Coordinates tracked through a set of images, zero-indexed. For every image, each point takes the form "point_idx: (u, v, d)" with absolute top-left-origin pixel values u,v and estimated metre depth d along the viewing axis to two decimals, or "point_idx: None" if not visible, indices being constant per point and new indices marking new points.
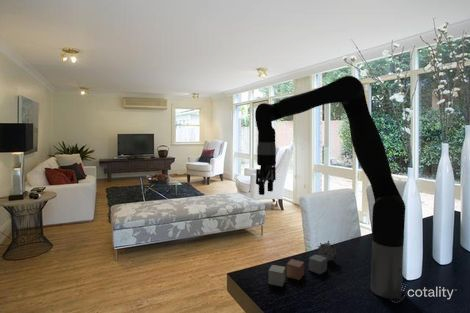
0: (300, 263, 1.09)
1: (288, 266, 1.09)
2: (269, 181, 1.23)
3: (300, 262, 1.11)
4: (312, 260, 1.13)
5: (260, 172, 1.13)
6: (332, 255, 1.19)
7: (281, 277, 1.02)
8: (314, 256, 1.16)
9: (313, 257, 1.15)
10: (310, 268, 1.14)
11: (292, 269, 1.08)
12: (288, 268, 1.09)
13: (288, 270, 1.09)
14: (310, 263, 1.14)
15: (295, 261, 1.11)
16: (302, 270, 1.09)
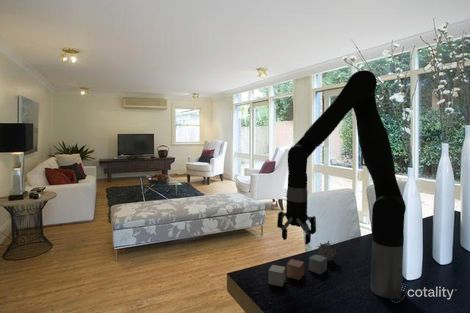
0: (300, 263, 1.09)
1: (288, 266, 1.09)
2: (285, 228, 1.11)
3: (300, 262, 1.11)
4: (312, 260, 1.13)
5: (315, 219, 1.06)
6: (332, 255, 1.19)
7: (281, 277, 1.02)
8: (314, 256, 1.16)
9: (313, 257, 1.15)
10: (310, 268, 1.14)
11: (292, 269, 1.08)
12: (288, 268, 1.09)
13: (288, 270, 1.09)
14: (310, 263, 1.14)
15: (295, 261, 1.11)
16: (302, 270, 1.09)
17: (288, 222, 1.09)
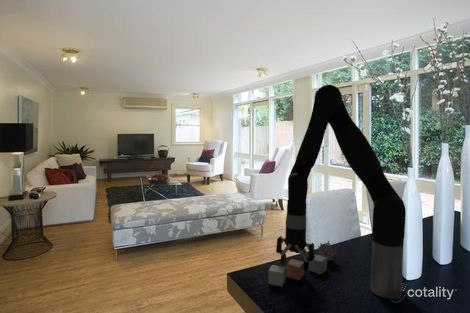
0: (300, 263, 1.09)
1: (288, 266, 1.09)
2: (284, 254, 1.12)
3: (300, 262, 1.11)
4: None
5: (313, 247, 1.07)
6: (332, 255, 1.19)
7: (281, 277, 1.02)
8: None
9: None
10: (310, 268, 1.14)
11: (292, 269, 1.08)
12: (288, 268, 1.09)
13: (288, 270, 1.09)
14: (310, 263, 1.14)
15: (295, 261, 1.11)
16: (302, 270, 1.09)
17: (287, 248, 1.10)
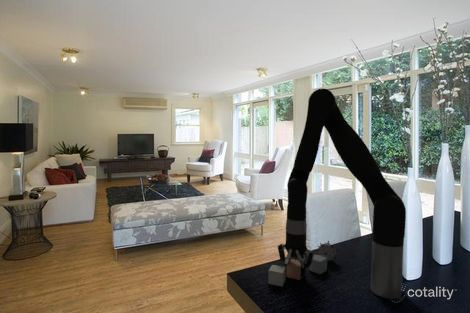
0: None
1: (288, 266, 1.09)
2: None
3: None
4: (312, 260, 1.13)
5: (313, 254, 1.07)
6: (332, 255, 1.19)
7: (281, 277, 1.02)
8: (314, 256, 1.16)
9: (313, 257, 1.15)
10: (310, 268, 1.14)
11: (292, 269, 1.08)
12: (288, 268, 1.09)
13: (288, 270, 1.09)
14: None
15: (295, 261, 1.11)
16: None
17: (289, 254, 1.09)
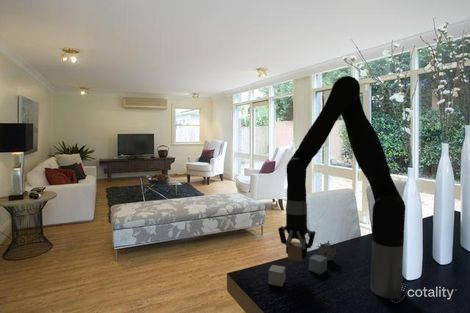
0: None
1: (289, 248, 1.08)
2: None
3: None
4: (312, 260, 1.13)
5: (314, 235, 1.06)
6: (332, 255, 1.19)
7: (281, 277, 1.02)
8: (314, 256, 1.16)
9: (313, 257, 1.15)
10: (310, 268, 1.14)
11: (293, 251, 1.07)
12: (289, 250, 1.08)
13: (289, 252, 1.08)
14: (310, 263, 1.14)
15: (296, 243, 1.10)
16: None
17: (290, 236, 1.08)
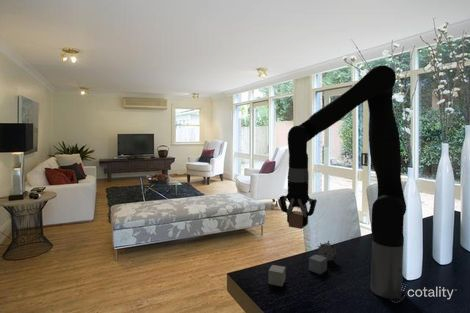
0: (302, 213, 1.09)
1: (290, 216, 1.08)
2: None
3: None
4: (312, 260, 1.13)
5: (315, 203, 1.06)
6: (332, 255, 1.19)
7: (281, 277, 1.02)
8: (314, 256, 1.16)
9: (313, 257, 1.15)
10: (310, 268, 1.14)
11: (294, 218, 1.07)
12: (290, 218, 1.08)
13: (290, 219, 1.08)
14: (310, 263, 1.14)
15: (297, 212, 1.11)
16: None
17: (291, 204, 1.09)
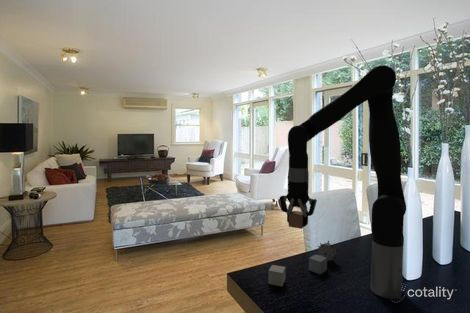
0: (302, 213, 1.09)
1: (290, 215, 1.08)
2: None
3: None
4: (312, 260, 1.13)
5: (315, 203, 1.06)
6: (332, 255, 1.19)
7: (281, 277, 1.02)
8: (314, 256, 1.16)
9: (313, 257, 1.15)
10: (310, 268, 1.14)
11: (294, 218, 1.07)
12: (290, 217, 1.08)
13: (290, 219, 1.08)
14: (310, 263, 1.14)
15: (297, 211, 1.11)
16: None
17: (291, 204, 1.09)
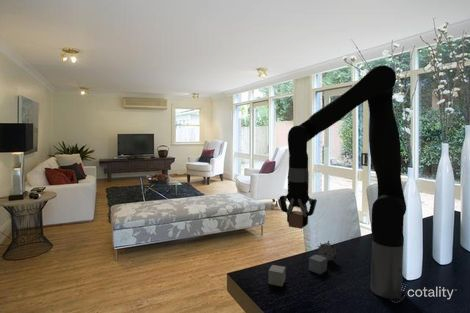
0: (302, 213, 1.09)
1: (290, 215, 1.08)
2: None
3: None
4: (312, 260, 1.13)
5: (315, 203, 1.06)
6: (332, 255, 1.19)
7: (281, 277, 1.02)
8: (314, 256, 1.16)
9: (313, 257, 1.15)
10: (310, 268, 1.14)
11: (294, 218, 1.07)
12: (290, 217, 1.08)
13: (290, 219, 1.08)
14: (310, 263, 1.14)
15: (297, 211, 1.11)
16: None
17: (291, 204, 1.09)
